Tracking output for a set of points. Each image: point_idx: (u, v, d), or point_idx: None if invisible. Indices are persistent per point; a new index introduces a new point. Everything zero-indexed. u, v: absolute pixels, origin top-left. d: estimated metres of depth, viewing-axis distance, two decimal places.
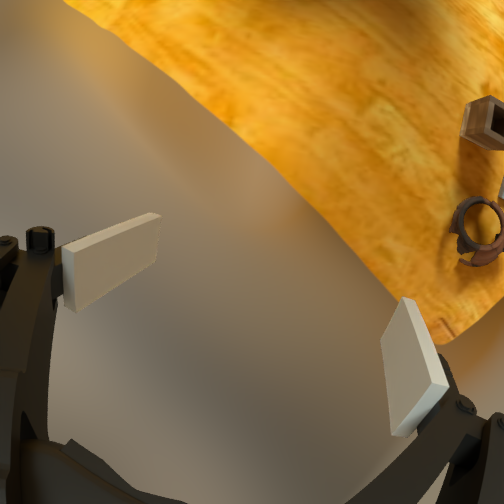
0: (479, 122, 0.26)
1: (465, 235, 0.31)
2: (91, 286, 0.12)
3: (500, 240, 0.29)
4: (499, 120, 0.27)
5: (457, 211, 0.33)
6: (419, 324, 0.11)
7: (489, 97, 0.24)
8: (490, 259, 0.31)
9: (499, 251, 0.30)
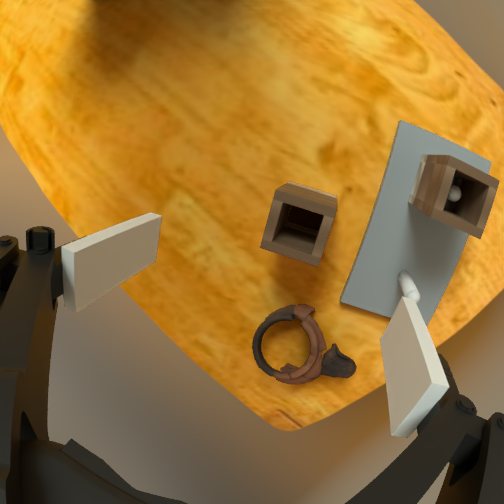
0: None
1: (257, 358, 0.32)
2: (91, 286, 0.12)
3: (303, 370, 0.30)
4: None
5: None
6: (419, 324, 0.11)
7: (275, 193, 0.24)
8: (299, 382, 0.32)
9: (312, 376, 0.31)
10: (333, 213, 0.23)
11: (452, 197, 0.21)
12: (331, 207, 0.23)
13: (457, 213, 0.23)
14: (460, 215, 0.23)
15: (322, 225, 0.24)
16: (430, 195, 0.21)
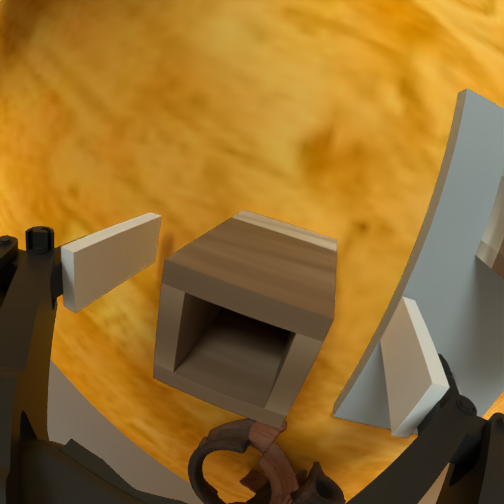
0: None
1: (195, 489, 0.17)
2: (91, 286, 0.12)
3: None
4: None
5: (203, 442, 0.19)
6: (419, 324, 0.11)
7: None
8: None
9: None
10: (322, 329, 0.08)
11: None
12: (317, 313, 0.08)
13: None
14: None
15: (291, 355, 0.09)
16: None
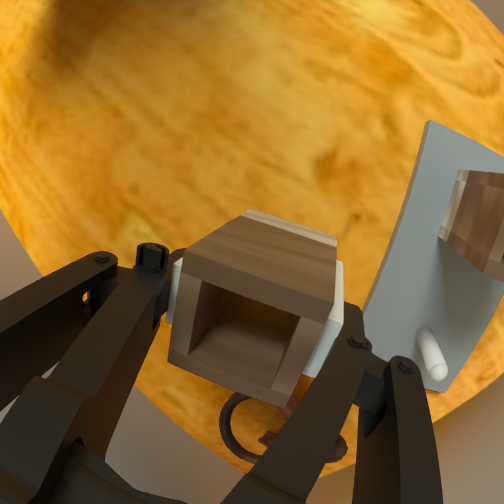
0: None
1: (225, 438, 0.24)
2: None
3: None
4: None
5: (231, 397, 0.26)
6: (336, 277, 0.14)
7: None
8: None
9: None
10: (324, 313, 0.09)
11: None
12: (320, 298, 0.09)
13: None
14: None
15: (296, 337, 0.10)
16: (480, 235, 0.13)
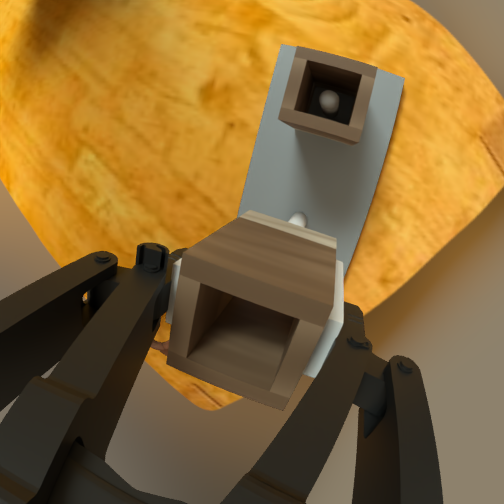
0: None
1: None
2: None
3: None
4: None
5: None
6: (336, 277, 0.14)
7: None
8: None
9: None
10: (323, 316, 0.09)
11: (324, 102, 0.18)
12: (319, 301, 0.09)
13: None
14: None
15: (295, 340, 0.10)
16: None
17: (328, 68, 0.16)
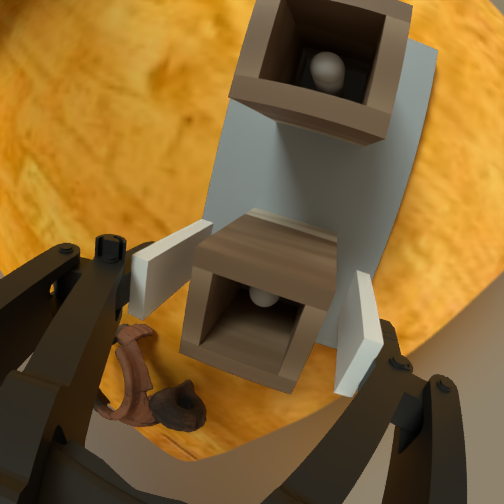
0: None
1: None
2: (157, 293, 0.13)
3: (120, 413, 0.19)
4: None
5: None
6: (366, 292, 0.13)
7: None
8: (135, 425, 0.22)
9: (143, 421, 0.21)
10: (326, 301, 0.10)
11: (318, 71, 0.10)
12: (322, 287, 0.10)
13: None
14: None
15: (301, 324, 0.11)
16: None
17: (323, 9, 0.08)
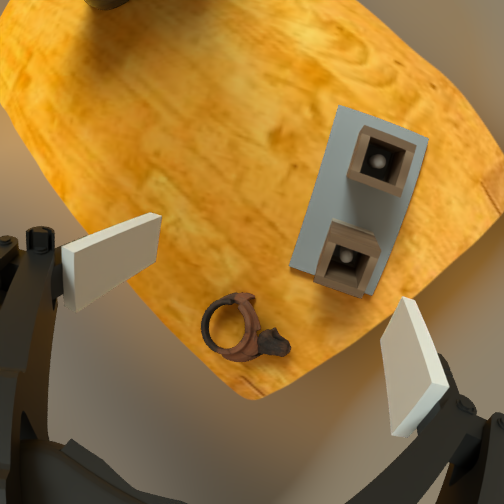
0: (319, 261, 0.30)
1: (204, 337, 0.39)
2: (91, 286, 0.12)
3: (239, 346, 0.36)
4: None
5: None
6: (419, 324, 0.11)
7: (329, 235, 0.28)
8: (241, 359, 0.38)
9: (250, 353, 0.37)
10: (378, 254, 0.27)
11: (376, 164, 0.27)
12: (376, 249, 0.27)
13: (387, 181, 0.29)
14: (388, 182, 0.28)
15: (368, 264, 0.27)
16: (352, 161, 0.27)
17: (383, 142, 0.24)
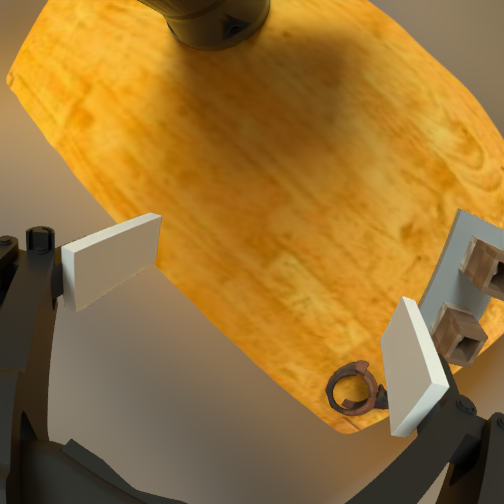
0: (443, 344, 0.33)
1: (331, 402, 0.42)
2: (91, 286, 0.12)
3: (364, 408, 0.39)
4: None
5: (332, 378, 0.44)
6: (419, 324, 0.11)
7: (459, 330, 0.30)
8: (359, 414, 0.41)
9: (368, 410, 0.41)
10: (485, 340, 0.29)
11: None
12: (485, 336, 0.29)
13: (492, 279, 0.31)
14: (494, 282, 0.31)
15: (478, 346, 0.30)
16: (480, 274, 0.29)
17: None
